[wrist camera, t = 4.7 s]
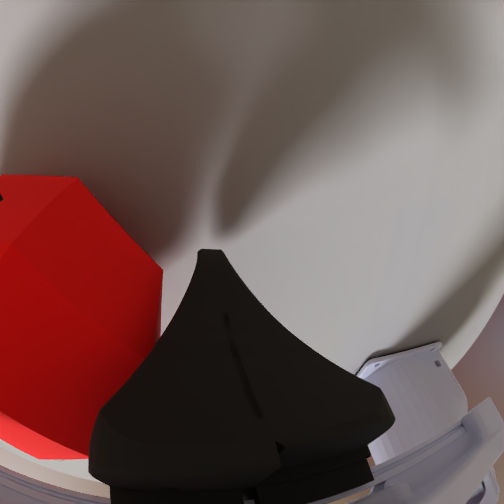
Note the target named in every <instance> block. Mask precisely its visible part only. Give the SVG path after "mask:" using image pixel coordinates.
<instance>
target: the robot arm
mask: <svg viewBox="0 0 504 504" xmlns="http://www.w3.org/2000/svg"><path fill="white" fill-rule="evenodd" d="M441 346H442V343H441V341H439V342H436V343H432V344H429V345H426V346H422V347H419V348H415V349H411V350H407V351H404V352H400V353H396V354H391V355H387V356H383V357H378V358H374V359H371V360H369V361H367V362H366V363H365V365H364V366H363V367H362V369H361V370H360V371H359V373H358V374H357V375H356V376H355V375H353V374H351V373H349V372H348V371H346V370H344V369H342V368H341V367H339V366H337V365H336V364H334V363H333V362H331V361H329V360H328V359H326V358H325V357H323V356H322V355H320V354H319V353H317V352H316V351H314V350H313V349H312V348H310V347H309V346H308V345H306V344H305V343H304V342H302V341H301V340H300V339H298V338H297V337H296V336H294V335H293V334H292V333H291V332H290V331H288V330H287V329H286V328H285V327H284V326H283V325H282V324H281V323H280V322H278V321H277V320H276V319H275V318H274V317H273V316H272V315H271V314H270V313H269V312H268V311H267V309H266V308H265V307H264V306H263V305H262V304H261V303H260V302H259V301H258V299H257V298H256V297H255V296H254V295H253V294H252V292H251V291H250V290H249V289H248V287H247V286H246V285H245V283H244V282H243V281H242V279H241V278H240V277H239V275H238V274H237V273H236V271H235V270H234V268H233V267H232V265H231V264H230V262H229V261H228V259H227V257H226V256H225V254H224V252H223V251H222V250H214V249H201V250H199V251H198V255H197V263H196V267H195V270H194V273H193V276H192V279H191V281H190V284H189V286H188V289H187V291H186V293H185V295H184V297H183V299H182V301H181V303H180V305H179V307H178V309H177V311H176V313H175V315H174V316H173V318H172V320H171V321H170V323H169V325H168V326H167V328H166V330H165V331H164V333H163V334H162V336H161V337H160V339H159V340H158V342H157V343H156V345H155V346H154V347H153V349H152V350H151V352H150V353H149V354H148V356H147V357H146V358H145V359H144V361H143V362H142V363H141V364H140V365H139V367H138V368H137V369H136V370H135V372H134V373H133V374H132V375H131V377H130V378H129V379H128V380H127V381H126V382H125V383H124V385H123V386H122V387H121V388H120V389H119V390H118V391H117V392H116V393H115V394H114V395H113V396H112V397H111V398H110V399H109V400H108V401H107V402H106V403H105V404H104V405H103V406H102V407H101V409H100V410H99V413H98V415H97V418H96V421H95V424H94V427H93V430H92V434H91V439H90V444H89V473H90V474H91V475H92V476H93V477H94V478H95V479H97V480H99V481H101V482H103V483H105V484H107V485H109V486H110V498H104V497H99V496H93V495H89V494H84V493H80V492H76V491H72V490H68V489H64V488H61V487H57V486H54V485H50V484H47V483H44V482H41V481H38V480H35V479H33V478H30V477H27V476H25V475H22V474H19V473H17V472H15V471H12V470H9V469H8V468H5V467H3V466H1V465H0V504H327V503H330V502H333V501H336V500H339V499H341V498H345V497H347V496H350V495H352V494H355V493H358V492H360V491H363V490H365V489H368V488H370V487H372V489H371V491H370V493H369V495H366V496H363V497H360V498H358V499H355V500H352V501H349V502H347V503H344V504H496V503H497V501H498V499H499V496H498V494H499V492H500V489H499V486H498V483H497V481H496V474H495V471H494V468H493V464H494V463H495V461H496V460H497V459H498V458H499V456H500V455H501V454H502V453H503V451H504V422H503V420H502V418H501V416H500V415H499V413H498V411H497V409H496V407H495V405H494V404H493V402H492V400H491V398H490V397H488V398H487V399H485V400H484V401H483V402H481V403H480V404H479V405H477V406H476V407H475V408H473V409H472V410H471V411H470V412H468V413H467V410H468V408H467V407H468V405H467V399H466V396H465V393H464V391H463V390H462V388H461V386H460V385H459V383H458V381H457V380H456V378H455V377H454V375H453V373H452V372H451V370H450V368H449V367H448V365H447V364H446V362H445V361H444V359H443V357H442V356H441V354H440V353H439V351H438V350H439V349H440V348H441ZM368 447H369V448H368ZM369 449H370V450H369ZM370 452H371V453H370ZM371 454H372V457H373V459H374V462H375V464H376V466H373V467H371V468H370V467H369V464H368V462H367V459H366V458H368V457H370V456H371Z"/></svg>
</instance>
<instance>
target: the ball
mask: <svg viewBox="0 0 504 504" xmlns="http://www.w3.org/2000/svg"><path fill="white" fill-rule="evenodd" d="M162 280H163V269H162V268H161V267H160V266H158V265H157V264H156V263H155V262H154V260H153V259H152V258H151V257H150V256H149V255H148V254H147V253H146V252H145V251H144V250H143V249H142V248H141V247H140V246H139V245H138V244H137V243H136V242H135V241H134V240H133V239H132V238H131V237H130V236H129V235H128V234H127V233H126V231H125V230H124V229H123V228H122V227H121V226H120V225H119V224H118V223H117V222H116V221H115V220H114V219H113V217H112V216H111V215H110V214H109V213H108V212H107V211H106V210H105V209H104V207H103V206H102V205H101V204H100V203H99V202H98V201H97V200H96V198H95V197H94V196H93V195H92V194H91V193H90V191H89V190H88V189H87V188H86V187H85V186H84V184H83V183H82V182H81V181H80V180H79V178H78V177H62V176H40V175H1V176H0V439H2V440H3V441H5V442H7V443H9V444H10V445H12V446H14V447H16V448H18V449H20V450H21V451H23V452H25V453H27V454H29V455H31V456H33V457H35V458H38V459H89V444H90V439H91V434H92V430H93V427H94V424H95V421H96V418H97V415H98V413H99V410H100V409H101V407H102V406H103V405H104V404H105V403H106V402H107V401H108V400H109V399H110V398H111V397H112V396H113V395H114V394H115V393H116V392H117V391H118V390H119V389H120V388H121V387H122V386H123V385H124V383H125V382H126V381H127V380H128V379H129V378H130V377H131V375H132V374H133V373H134V372H135V370H136V369H137V368H138V367H139V365H140V364H141V363H142V362H143V361H144V359H145V358H146V357H147V356H148V354H149V353H150V352H151V350H152V349H153V347H154V346H155V345H156V343H157V342H158V340H159V339H160V333H161V300H162Z"/></svg>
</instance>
